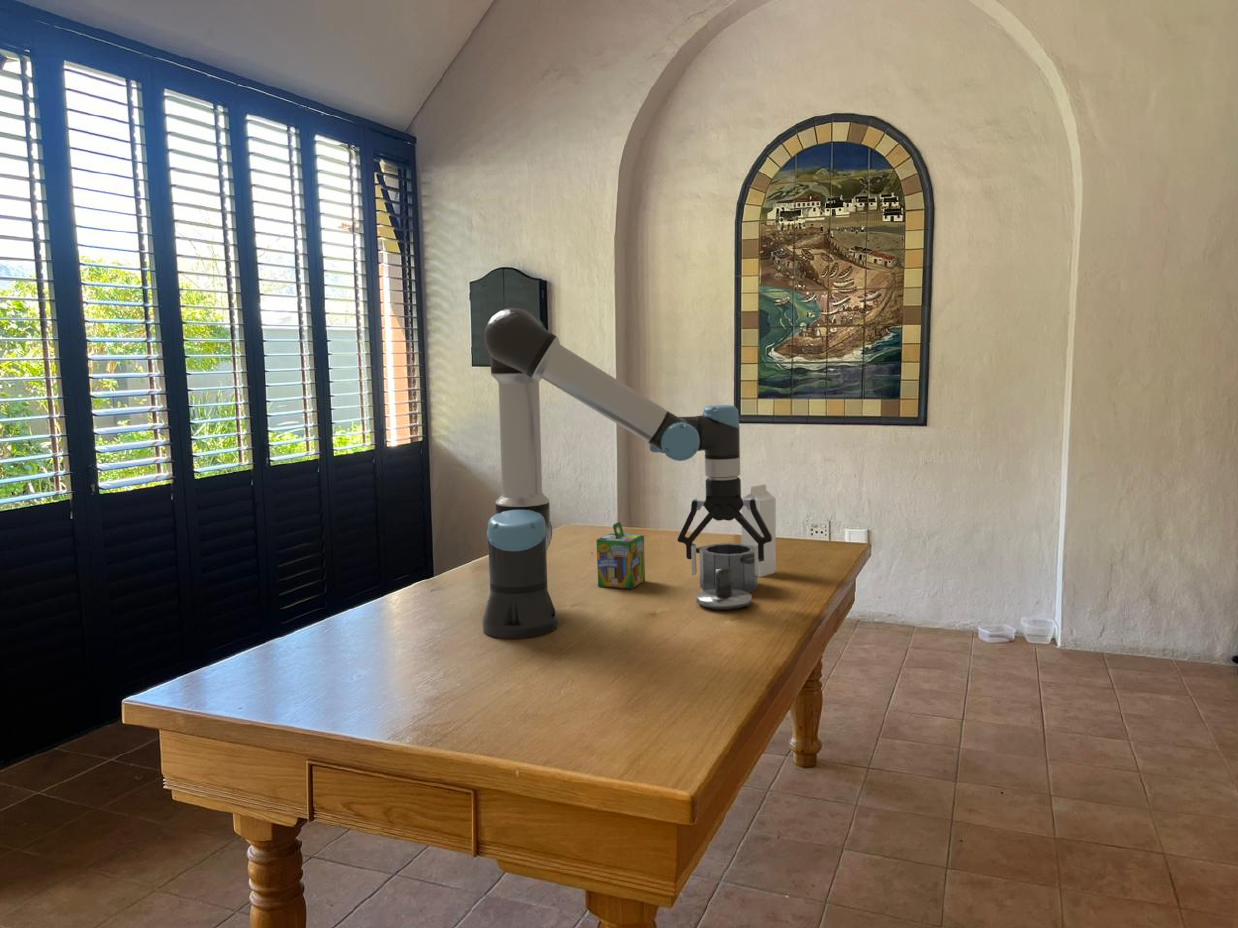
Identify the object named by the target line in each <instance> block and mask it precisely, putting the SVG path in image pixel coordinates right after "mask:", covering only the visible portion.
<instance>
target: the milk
mask: <svg viewBox="0 0 1238 928" xmlns="http://www.w3.org/2000/svg"><path fill="white" fill-rule="evenodd" d="M741 498H742V500H750V499H751V498H754V499H755V500H756V507H757V510H758V511H759V513H760V515H761V517H762V519H763V521H764V523H765V524H766V526H767V528H768V530H769V532H770V534H771V536H772V541H771V542H767V543H765V544H764V561H761V562H759V575H757V578H758V577H759V578H762V577H766V576H771V575H773V574H776V569H777V568H776V567H777V564H776V563H777V562H776V559H777V557H776V547H777V546H776V544H777V543H776V541H777V540H776V539H777V538H776V537H777V534H776V527H777V526H776V524H777V523H776V515H777V514H776V510H777V509H776V499H777V498H776V497H775V496H774V495H772V494H771V493H770V492H769V491H768V490H767V484H765V483H764V484H759V485H754V486H751V487H750V493H748V494H747V495H745V496H743V497H741ZM741 514H742V515H743V516H744V518H745V519H746V520H747V521H748V522H749V523H750V525H751V526H752V527H753V528H754V529H755V530H756V531H757V532H758V533H759V535H760V536H761V537H764V535H763V533H762V532H761V530H760V528H759V526H758V524H757V522H756V520H755V519H754V517H753V515H752V513H751V510H748V509H747V507H746V506H743V507H742V508H741ZM755 543H757V542H756V541H755V540H754V539H753V538H752V537H751V535H750V534H749V533H748V532H747V531H746V530H745V529H744V528H743V527H742V526H741V544H745V545H750V546H753V547H754V545H755Z"/></svg>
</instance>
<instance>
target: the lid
mask: <svg viewBox="0 0 1238 928" xmlns="http://www.w3.org/2000/svg"><path fill="white" fill-rule="evenodd" d="M715 583H716V589H710V590H705V591H704V590H701V591H699V592H697V593H696V598H695V599H696V603H697V604H698V605H700V606H703V607H706V608H708V609H711V610H716V611H732V610H738V609H740V608H742V607H747V606H749V605H750V604H752V601H753V600H752V599H753V598H752V594H751V593H750V592H746V591H742V590H737V589H732V568H730V567H717V568H715Z"/></svg>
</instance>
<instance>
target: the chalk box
mask: <svg viewBox="0 0 1238 928" xmlns="http://www.w3.org/2000/svg"><path fill="white" fill-rule="evenodd" d="M612 528H613V529H612V530H613V533H608V534H606V535H603V536H601V537H598V538H597V539H596V561H597V562H596V565H597V587H599V588H600V587H601V588H616V589H617V588H618V589H619V588H620V589H630V590H631V589H632V590H633V589H634V588H635V587H637V586H639V585H640V584H642V583H644V582H645V581H646V569H645V568H646V567H645V565H646V563H645V535H642V534H632V533H624V529H623V526H622V523H621V522H620V521H618V522H615V523H613V525H612ZM617 529H619V532H618V531H617Z"/></svg>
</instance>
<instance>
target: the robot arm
mask: <svg viewBox="0 0 1238 928" xmlns="http://www.w3.org/2000/svg"><path fill="white" fill-rule="evenodd" d="M483 336H484V338H483V339H484V344H485V347H486V349H487V351H488V354H489V355H490V375H491V376H492V378H494V380H496V381H497V383H498V402H499V403H498V406H499V407H498V409H499V435H500V436H499V437H500V439H499V440H500V463H501V464H500V465H501V468H500V469H501V491H502V492H501V495H500V496H499V497H498V498H497V499H496V500H495V502H494V504H495V514H494V515H492V516H491V517H490V519H488V522H487V531H486V537H487V541H488V543H487V545H488V548H487V550H488V570H489V571H488V572H489V595H488V599H487V604H486V605H485V611H484V614H483V617H482V631H483V633H484V634H486V635H488V636H490V637H494V638H499V639H526V638H527V639H528V638H536V637H540V636H544V635H548V634H550V633H551V632H553V631H555V630H557V628H558V615H557V612H556V609H555V606H554V604H553V601H552V598H551V595H550V593H549V589H548V567H547V566H548V563H547V562H548V561H547V558H548V557H547V551H548V548H549V547H550V545H551V541H552V539H553V526H552V521H551V515H550V514H551V512H550V509H551V507H550V499H549V498H548V497H547V496H546V495H545V494H544V492H543V479H542V478H543V477H542V476H543V475H542V473H543V471H542V450H541V449H542V446H541V445H542V443H541V440H542V439H541V403H540V402H541V401H540V381H541V380H545V382H548V383H549V384H551V385H552V386H555V387H556V388H558V389H559V390H560V391H563V392H564V393H565V394H567V395H569V396H570V397H572V398H574V399H576V400H577V401H579V402H581V403H582V404H584V405H585V406H587V407H589V408H591V409H592V410H594V411H595V412H597V413H599V414H600V415H602V416H604V417H605V418H607V419H608V420H610V421H612V422H614V423H615V424H617V425H618V426H620V427H622V428H623V429H625V430H627V431H628V432H630V433H632V434H633V435H635V436H636V437H638V438H640V439H642V441H645V442H646V443H648V447H649V451H650V452H652V453H661V454H665V456H666V457H668V458H669V459H671V460H673V461H679V462H682V461H688V460H689V459H691V458H693V457H694V456H695V455H697V453H698V452H702V451H704V473H705V476H706V477H707V478H706V479H705V499H704V500H698V499H697V498H694V499H692V501H691V505H690V512H689V514H688V516H687V518H686V520H685V523H684V525H683V527H682V529H681V531H680V533H679V535H678V537H677V542H678V543H682V544H684V545H685V546H686V547H685V548H686V549H685V550H686V552H685V554H686V555H685V556H686V559H687V560H691V576H696V575H697V571H698V569H697V553H696V548H697V543H696V542H694V541H695V540H696V539H697V538H698V536H699V535H700V534H701V533H702V531H703V530H704V529H705V528H706V527H707V525H708V524H709V523H710V522H711V521H712V519H713V520H716V522H717V521H719V522H720V521H729V522H730V521H733V520H734V519H735V520H736V522H737V523H738V524H739V525H741V528H742V527H743V528H744V529H745V530H746V531H747V532H748V533H749V534H750V535H751V537H752V538H753V539H754V540H755V541H756V542H757V543H755V545H754V550H755V575H759V559H763V558H764V544H765V543H767V542H771V541H772V536H771V534H770V532H769V530H768V528H767V526H766V524H765V523H764V521H763V519H762V517H761V515H760V513H759V511H758V510H757V507H756V500H755V499H754V498H751V499H750V500H742V498H743V497H742V489H741V488H742V484H741V481H742V480H741V478H740V477H739V476H740V475H741V453H740V452H741V451H740V448H741V447H740V446H741V444H740V443H741V442H740V439H741V437H740V428H741V426H740V420H739V419H740V418H739V409H738V408H737V407H736V406H735V405H730V404H729V405H728V404H720V405H719V404H717V405H706V406H704V407H703V412H702V415H695V416H677V415H675V414H674V413H672V412H670V411H668V410H667V409H665V408H664V407H662V406H661V405H659V404H657V403H656V402H654V401H653V400H650V399H649V398H647V397H646V396H644V395H642V394H641V393H639V392H637V391H636V390H634V389H633V388H631V387H629V386H628V385H626V384H624V383H623V382H622V381H620V380H618V379H617V378H615V377H613V376H612V375H610V374H609V373H607V372H605V371H604V370H602V369H600V368H598V367H597V366H595V365H594V364H593V363H591V362H589V361H587V360H586V359H584V358H582V357H581V356H580V355H578V354H576V353H575V352H573V351H571V350H570V349H568V348H566V347H565V346H563V344H562V345H561V343H560V340H559V339H560V338H559V337H558V336H557V335H556V334H553V333H552V332H550V331H549V330H547V329H546V327H545V325H544V323H543V322H542V321H541V319H540V318H539V317H538V316H537V315H535V314H534V313H532V312H531V311H528V310H525V309H521V308H517V307H516V308H515V307H513V308H512V307H510V308H509V307H508V308H504V309H502V310H499V311H498V312H496V313H494V315H492V316H491V318H490V319H489V320H488V322H487V324H486V327H485V330H484V335H483ZM743 506H746V507H747V509H748V510H751V513H752V515H753V517H754V519H755V520H756V522H757V524H758V526H759V528H760V530H761V532H762V533H763V535H764V537H761V536H760V535H759V533H758V532H757V531H756V530H755V529H754V528H753V527H752V526H751V525H750V523H749V522H748V521H747V520H746V519H745V518H744V516H743V515H742V512H741V511H742V507H743ZM702 507H704V508H705V510H706V511H707V512H708V513H707V514H706V515H705V517H704V518H703V519H702V520H701V522H700V523H698V525H697V526H696V528H695V529H694V530H693V532H692V533H691V534H689V536H688V537H687V536H686V535H687V533H688V532H689V529H690V527H691V525H692V523H693V521H694V518H695V516H696V514H697V511H700V510H701V508H702Z"/></svg>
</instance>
